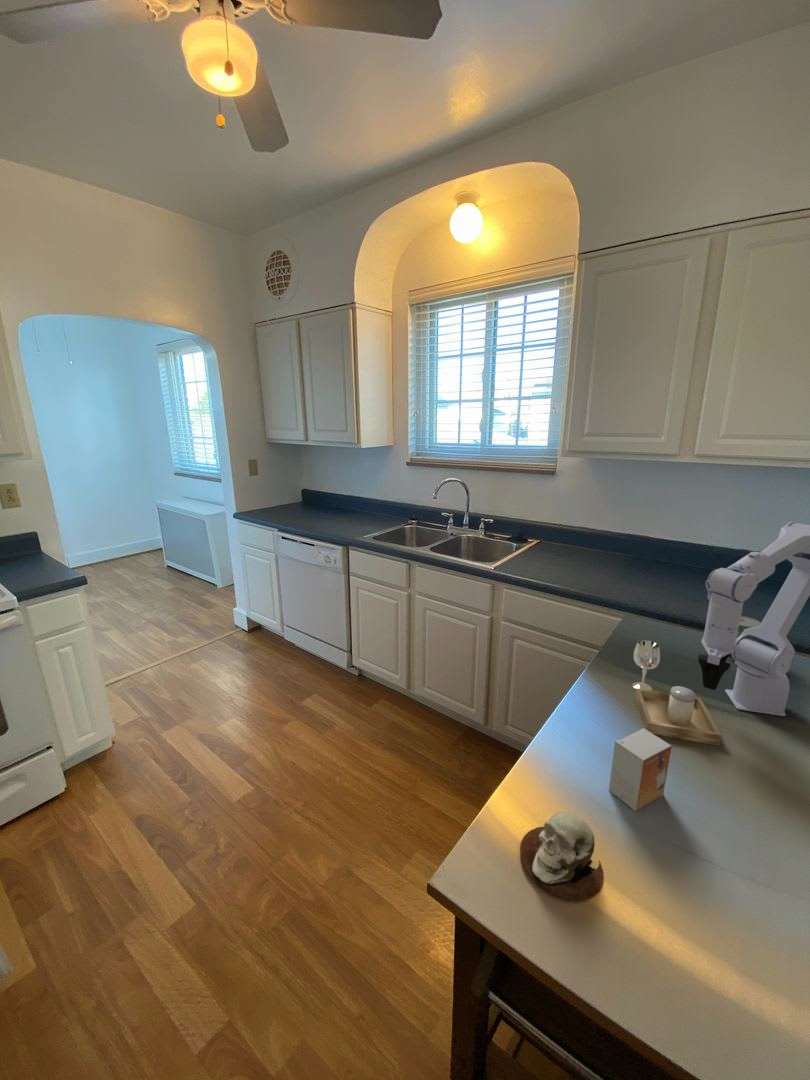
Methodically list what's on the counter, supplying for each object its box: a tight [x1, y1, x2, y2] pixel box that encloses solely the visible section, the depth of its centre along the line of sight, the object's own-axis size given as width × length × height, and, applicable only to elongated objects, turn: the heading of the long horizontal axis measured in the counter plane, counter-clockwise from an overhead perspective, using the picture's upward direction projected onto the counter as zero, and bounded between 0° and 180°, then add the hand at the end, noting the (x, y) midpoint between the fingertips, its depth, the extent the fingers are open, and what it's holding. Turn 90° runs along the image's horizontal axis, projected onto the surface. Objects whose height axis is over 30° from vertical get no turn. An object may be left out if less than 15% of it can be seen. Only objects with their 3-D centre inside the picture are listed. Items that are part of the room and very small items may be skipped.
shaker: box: [667, 685, 697, 727], centre depth 98 cm, size 5×5×7 cm
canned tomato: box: [727, 615, 762, 662], centre depth 126 cm, size 8×8×11 cm
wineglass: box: [631, 639, 661, 691], centre depth 111 cm, size 6×6×12 cm
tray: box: [634, 688, 722, 746], centre depth 99 cm, size 14×14×2 cm
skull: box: [519, 811, 605, 901], centre depth 67 cm, size 12×10×10 cm
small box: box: [608, 727, 672, 812], centre depth 79 cm, size 8×6×10 cm
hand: (711, 680), depth 98 cm, fingers open, 7 cm apart
